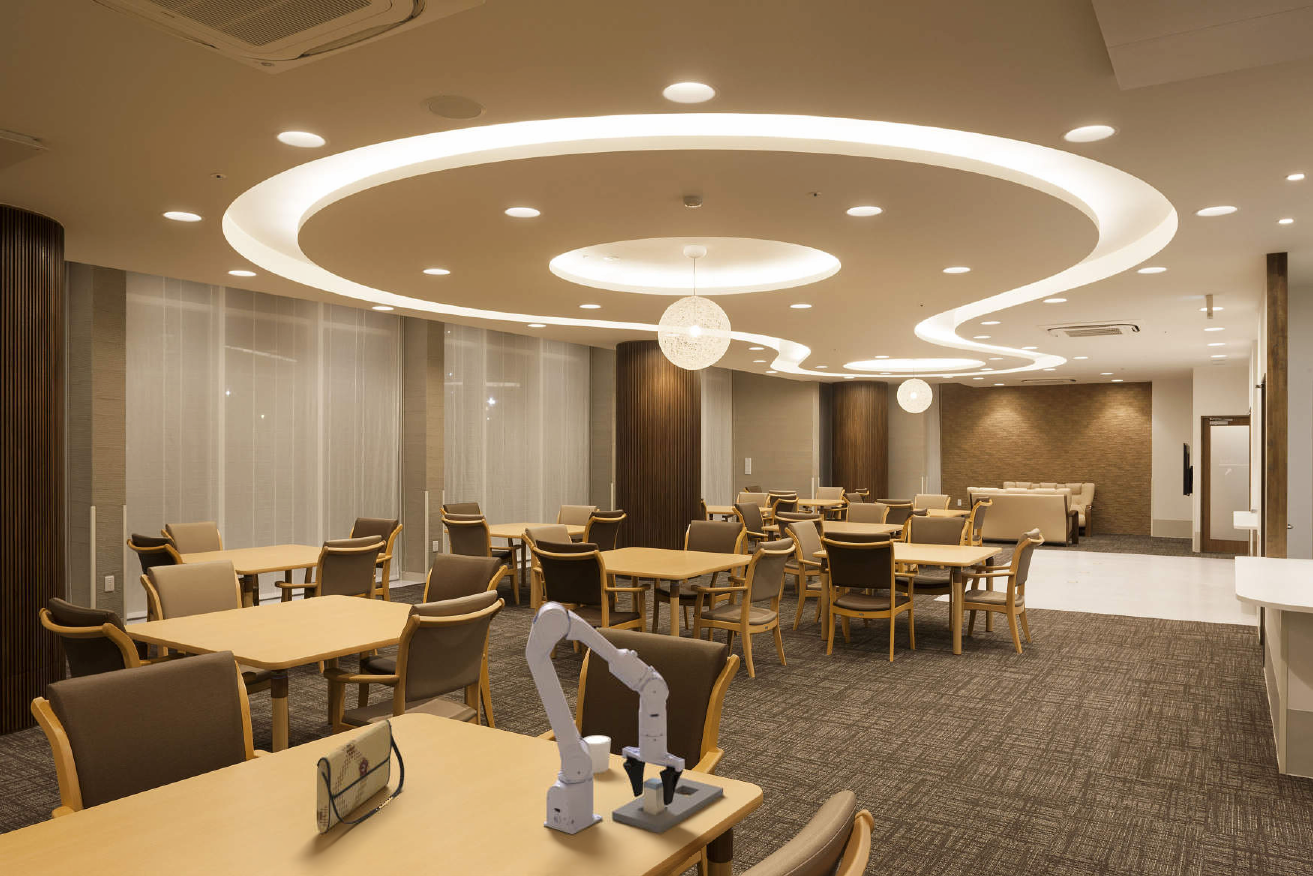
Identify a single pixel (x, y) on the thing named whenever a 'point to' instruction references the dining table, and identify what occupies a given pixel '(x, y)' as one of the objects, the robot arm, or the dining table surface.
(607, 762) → the white round cup
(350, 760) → the clutch purse
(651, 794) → the plug
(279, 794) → the dining table surface
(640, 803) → the socket board
